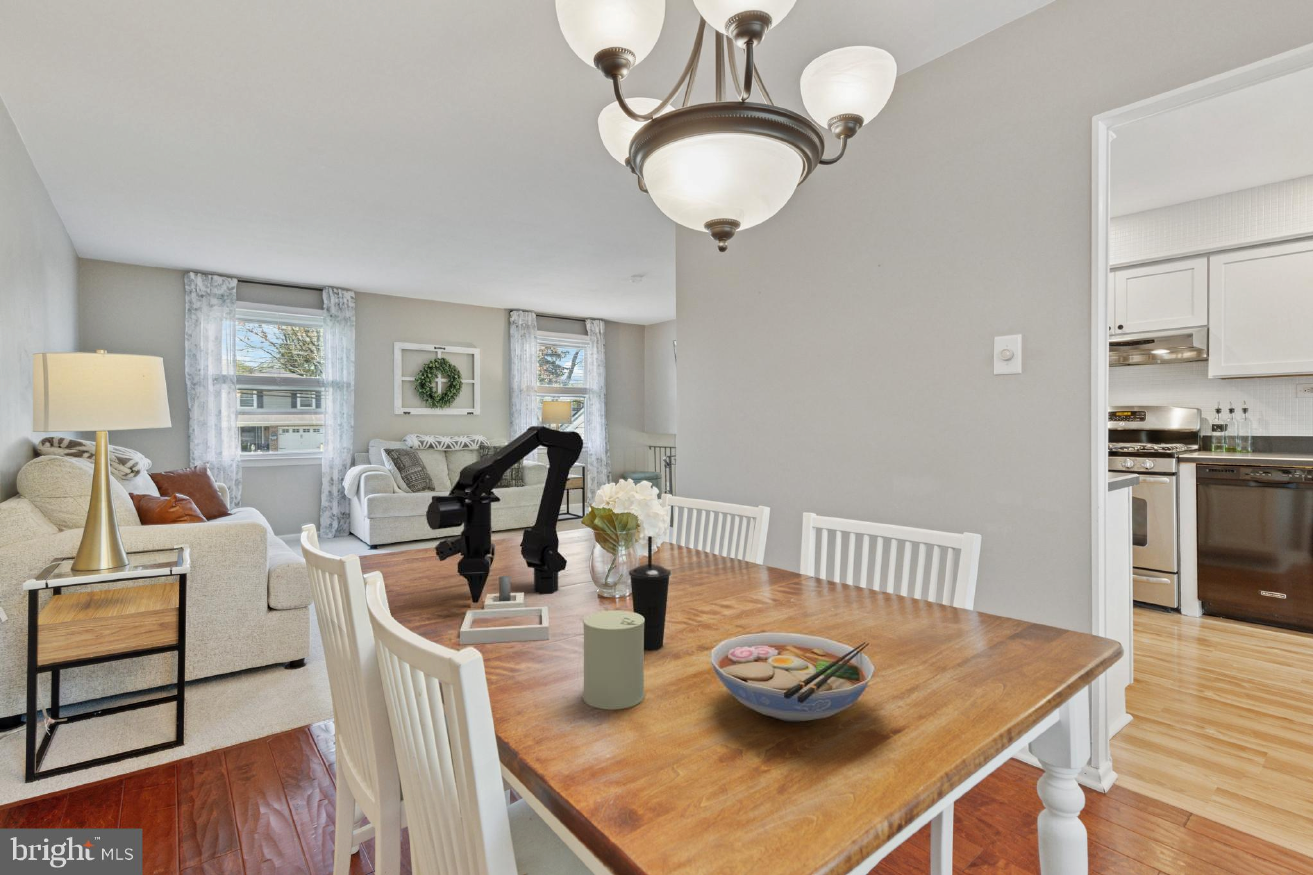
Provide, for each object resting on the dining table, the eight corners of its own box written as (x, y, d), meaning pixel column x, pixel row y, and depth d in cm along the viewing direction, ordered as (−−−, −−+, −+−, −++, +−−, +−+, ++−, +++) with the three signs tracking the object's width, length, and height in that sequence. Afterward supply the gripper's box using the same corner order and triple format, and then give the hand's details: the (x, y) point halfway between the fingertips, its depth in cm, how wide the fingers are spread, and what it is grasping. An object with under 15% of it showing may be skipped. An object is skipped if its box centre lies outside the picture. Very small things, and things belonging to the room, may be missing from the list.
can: (623, 715, 88) (623, 629, 87) (569, 701, 92) (570, 619, 92) (655, 691, 96) (656, 612, 95) (605, 679, 100) (605, 603, 100)
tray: (467, 622, 128) (467, 610, 128) (547, 618, 131) (547, 606, 131) (459, 644, 115) (459, 631, 115) (548, 639, 118) (548, 626, 118)
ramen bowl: (763, 664, 106) (763, 616, 106) (901, 703, 92) (902, 647, 92) (671, 717, 87) (672, 658, 87) (828, 776, 73) (829, 706, 72)
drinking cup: (622, 642, 117) (622, 534, 117) (659, 636, 120) (660, 531, 120) (638, 655, 110) (639, 541, 110) (677, 649, 113) (678, 538, 113)
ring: (473, 601, 139) (473, 576, 139) (523, 598, 141) (524, 574, 141) (469, 611, 131) (469, 585, 131) (523, 609, 133) (523, 583, 133)
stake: (484, 605, 140) (484, 573, 140) (526, 603, 142) (526, 571, 142) (481, 617, 131) (481, 583, 131) (525, 615, 133) (525, 581, 133)
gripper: (444, 518, 143) (444, 587, 143) (430, 532, 124) (431, 611, 125) (495, 517, 145) (495, 585, 145) (489, 531, 126) (489, 608, 127)
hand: (477, 596), depth 135 cm, fingers open, 9 cm apart
